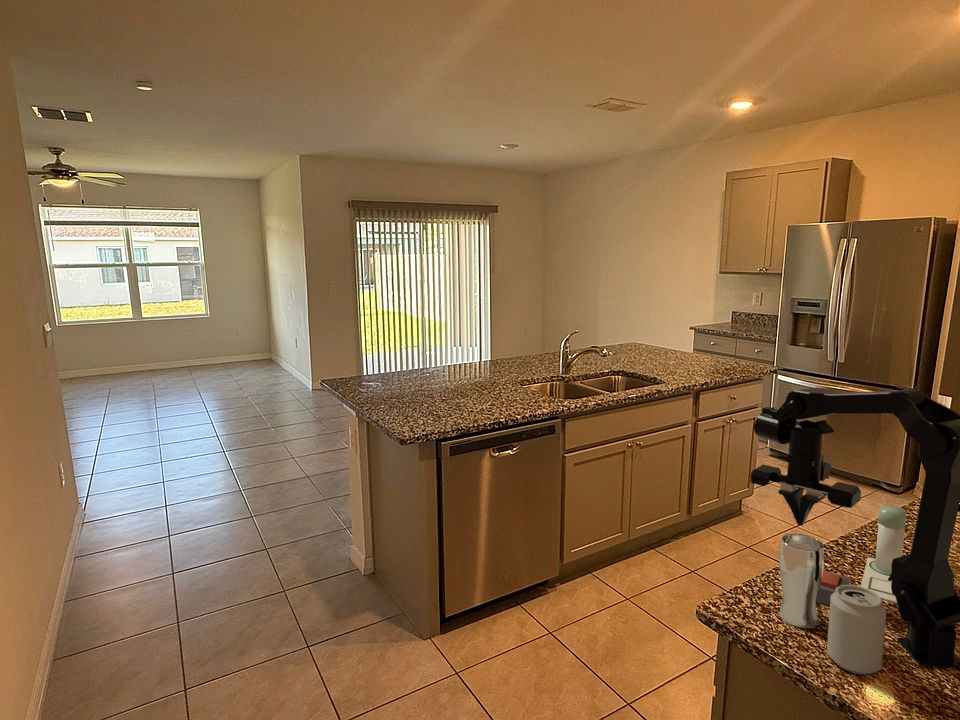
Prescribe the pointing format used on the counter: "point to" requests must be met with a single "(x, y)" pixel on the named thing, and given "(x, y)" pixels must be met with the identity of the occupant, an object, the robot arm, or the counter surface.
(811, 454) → the robot arm
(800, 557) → the beer glass
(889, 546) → the ball
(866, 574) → the colouring card
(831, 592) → the button housing
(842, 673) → the counter surface
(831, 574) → the button
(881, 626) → the can
